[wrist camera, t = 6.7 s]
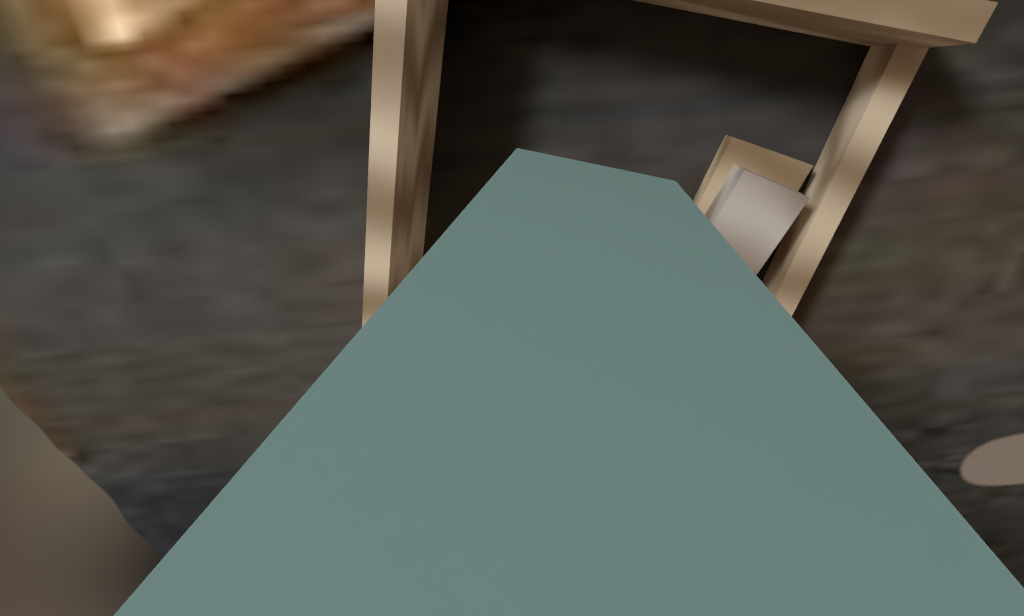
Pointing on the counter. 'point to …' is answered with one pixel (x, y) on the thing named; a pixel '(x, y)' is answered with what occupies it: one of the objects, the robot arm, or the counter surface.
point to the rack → (774, 3)
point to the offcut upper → (754, 214)
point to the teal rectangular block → (580, 443)
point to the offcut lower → (749, 168)
